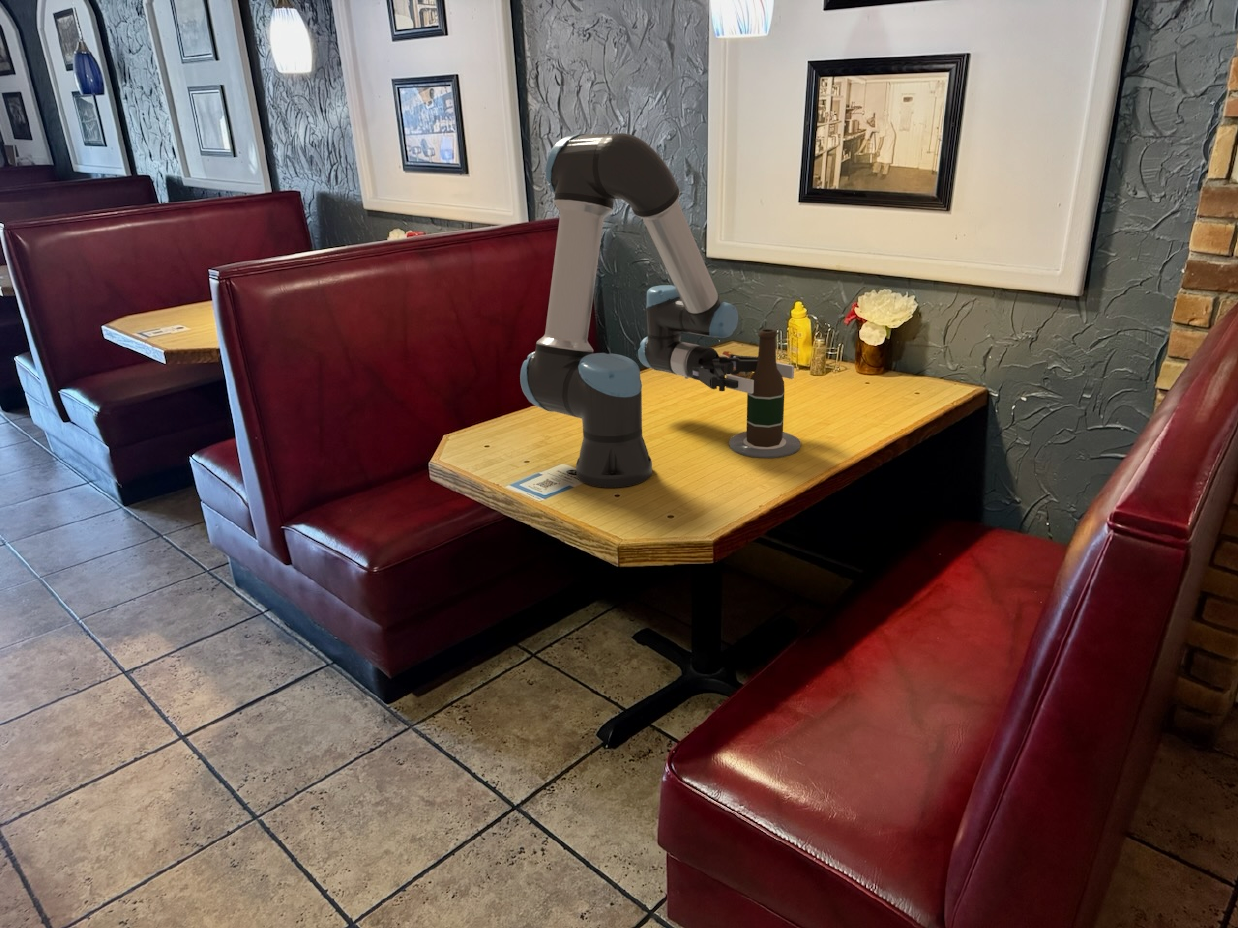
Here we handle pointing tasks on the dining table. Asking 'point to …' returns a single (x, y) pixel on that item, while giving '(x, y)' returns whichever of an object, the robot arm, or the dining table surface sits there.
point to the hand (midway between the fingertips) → (773, 379)
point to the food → (742, 374)
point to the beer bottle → (766, 396)
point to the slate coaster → (785, 447)
